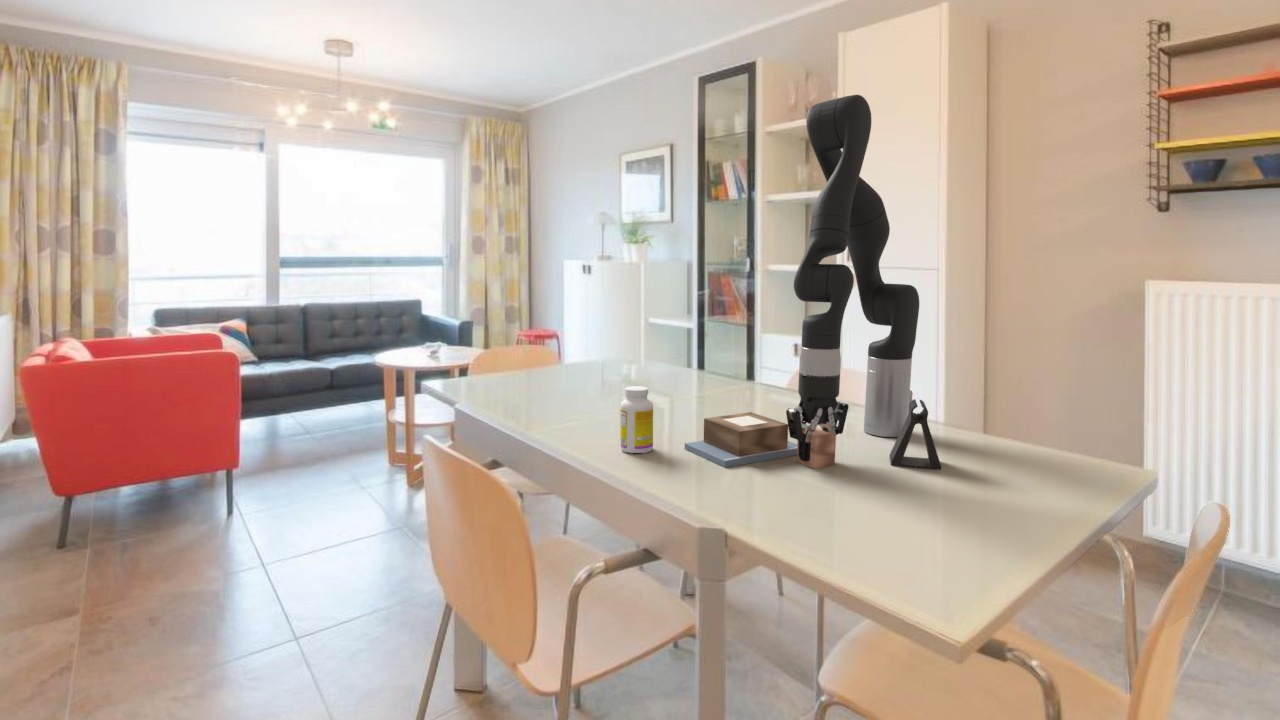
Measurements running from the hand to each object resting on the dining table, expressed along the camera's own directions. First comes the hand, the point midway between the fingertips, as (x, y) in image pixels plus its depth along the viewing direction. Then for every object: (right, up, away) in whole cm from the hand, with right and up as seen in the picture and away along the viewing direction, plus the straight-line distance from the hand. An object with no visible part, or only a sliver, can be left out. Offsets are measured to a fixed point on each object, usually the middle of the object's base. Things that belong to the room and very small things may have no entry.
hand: (815, 457), depth 135 cm
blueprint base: (-12, 0, +8) cm, 15 cm away
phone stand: (+19, -1, +1) cm, 19 cm away
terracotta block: (0, -1, 0) cm, 1 cm away
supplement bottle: (-34, 0, +8) cm, 35 cm away
